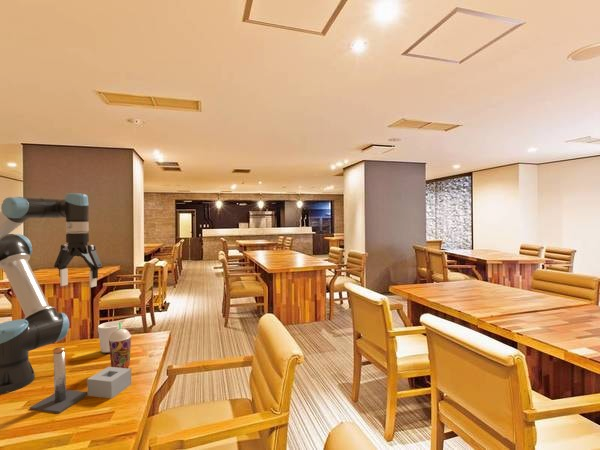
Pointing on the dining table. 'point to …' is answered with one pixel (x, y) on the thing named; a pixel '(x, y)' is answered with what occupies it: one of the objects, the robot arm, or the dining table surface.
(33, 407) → the mat
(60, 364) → the peg
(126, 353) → the smoothie
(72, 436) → the dining table surface
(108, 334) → the cup
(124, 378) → the eye block
